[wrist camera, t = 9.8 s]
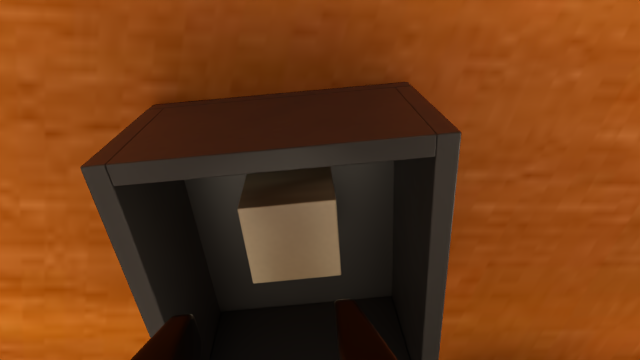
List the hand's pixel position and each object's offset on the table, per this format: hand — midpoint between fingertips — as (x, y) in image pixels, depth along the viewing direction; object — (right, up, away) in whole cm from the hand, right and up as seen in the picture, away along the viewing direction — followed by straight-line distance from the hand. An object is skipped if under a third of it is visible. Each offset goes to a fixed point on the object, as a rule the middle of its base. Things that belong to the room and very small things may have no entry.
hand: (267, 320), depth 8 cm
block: (0, +2, +12) cm, 12 cm away
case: (0, +1, +13) cm, 13 cm away
